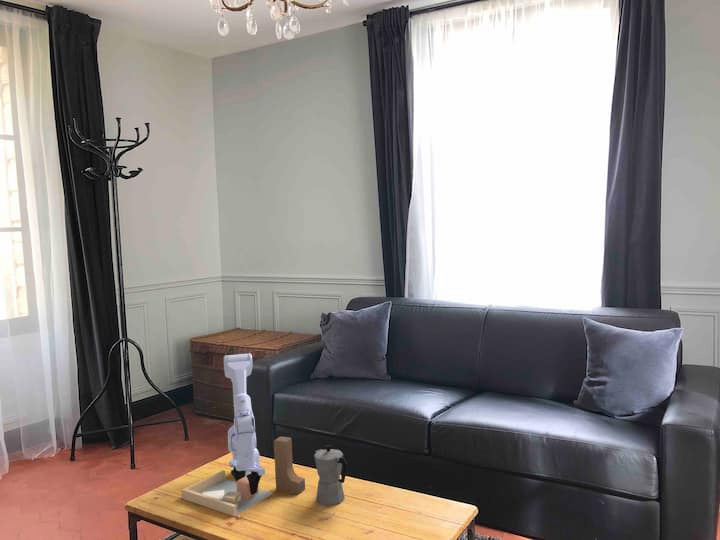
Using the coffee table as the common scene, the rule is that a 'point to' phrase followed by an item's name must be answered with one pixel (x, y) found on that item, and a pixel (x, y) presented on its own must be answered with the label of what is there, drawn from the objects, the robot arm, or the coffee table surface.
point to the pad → (215, 494)
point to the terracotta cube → (244, 488)
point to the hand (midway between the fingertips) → (247, 491)
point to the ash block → (233, 498)
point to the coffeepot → (330, 476)
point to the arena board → (221, 483)
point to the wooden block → (286, 468)
